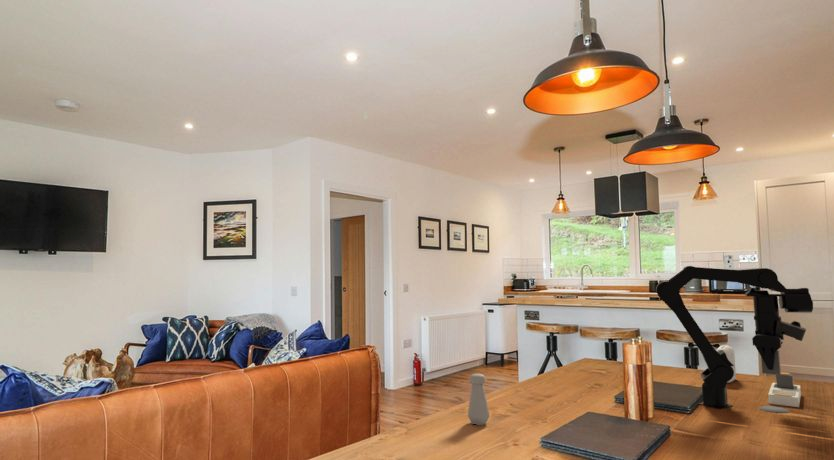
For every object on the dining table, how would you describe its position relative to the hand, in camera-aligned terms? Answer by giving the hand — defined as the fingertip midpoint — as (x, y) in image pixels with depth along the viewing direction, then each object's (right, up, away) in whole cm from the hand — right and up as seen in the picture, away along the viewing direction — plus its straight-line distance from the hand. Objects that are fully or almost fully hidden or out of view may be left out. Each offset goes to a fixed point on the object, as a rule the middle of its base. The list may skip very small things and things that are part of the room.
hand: (771, 368), depth 139 cm
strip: (+16, -13, +16) cm, 26 cm away
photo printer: (+10, -15, +36) cm, 40 cm away
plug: (0, -1, 0) cm, 1 cm away
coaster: (0, -12, -1) cm, 12 cm away
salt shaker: (-83, -13, -6) cm, 84 cm away
